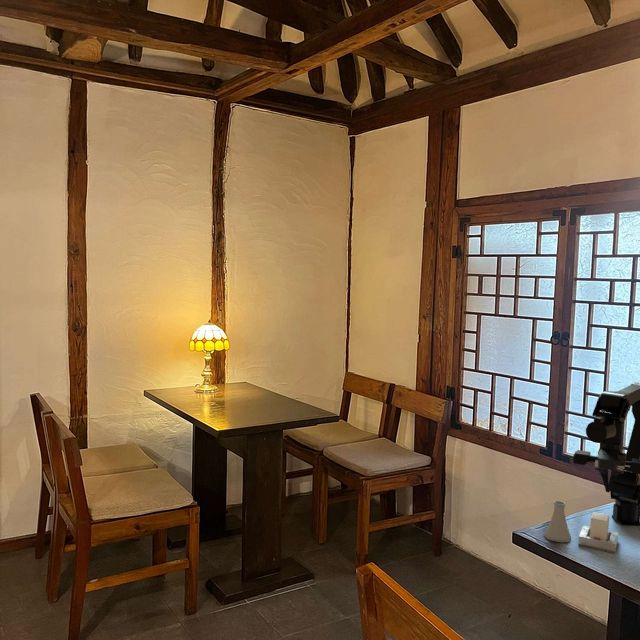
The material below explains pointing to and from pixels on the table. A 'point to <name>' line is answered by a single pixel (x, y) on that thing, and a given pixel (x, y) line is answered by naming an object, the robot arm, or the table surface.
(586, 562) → the table surface
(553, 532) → the flask
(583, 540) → the socket
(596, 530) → the plug
